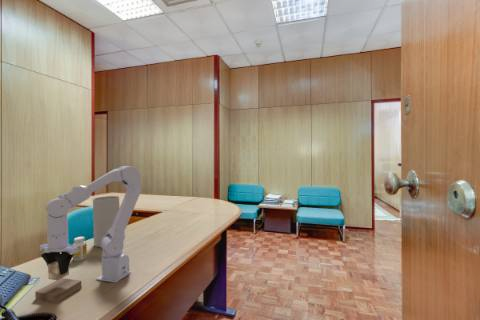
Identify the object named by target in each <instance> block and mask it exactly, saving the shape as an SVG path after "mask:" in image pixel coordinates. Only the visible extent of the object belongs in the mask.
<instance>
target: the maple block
mask: <svg viewBox="0 0 480 320" xmlns="http://www.w3.org/2000/svg"><path fill="white" fill-rule="evenodd" d="M47 271H48V273H47V274H48V275H47V276H48V277H47V278H48V280H53V281H57V280H59V279H61V278H65V277H67V276H69V275H70V267H69V268H68V272H67V273H65V274H63V275H60V272H59V265H58V262H57V261H55V262H52V263H50V264H48V266H47Z"/></svg>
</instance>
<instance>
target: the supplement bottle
mask: <svg viewBox="0 0 480 320" xmlns="http://www.w3.org/2000/svg"><path fill="white" fill-rule="evenodd" d="M73 239H74V240H73V242H74V243H72V246H75V247H77V253H75V254H74V255H73V257H72V260H73V261H75V262H77V261H82V260H84V259H87V256H88V254H87V253H88V252H87V251H88V250H87V247H88V246H87V241H85V240H86V238H85V236H77V237H75V238H73Z"/></svg>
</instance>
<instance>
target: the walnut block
mask: <svg viewBox="0 0 480 320" xmlns="http://www.w3.org/2000/svg"><path fill="white" fill-rule="evenodd" d="M82 288H83V287H82V280H78V279H71V278H65V277H63V278H61V279H59V280H54V281H53V282H51V283H49V284H47V285H45V286H43V287H41V288H40V289H38V290H36V291H35V293H34V294H35V295H34V296H35V300H36V299H37V301H42V300H43V301H42V302H47V301H48V302H49V303H52V304H53V303H54V304H57V303H58V304H59V302H61V301H63V300H64V299H66V298H68V297H69V296H70V295H72V294H74V293H76V292H77V291H80V289H82ZM48 302H47V303H48Z"/></svg>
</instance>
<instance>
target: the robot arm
mask: <svg viewBox="0 0 480 320" xmlns="http://www.w3.org/2000/svg"><path fill="white" fill-rule="evenodd" d="M141 177H142V175H141V173H140V171H139V169H138V168H137V167H135V166H133V165H121V166H119V167H118V168H114V169H112V170H111V171H110V170H109V172H107V173H105V174H104V175H102V176H100V177H98V178H97V179H95V180H93V181H92V182H90V183H88V184H87V185H82V184H80V185H78V186H77V185H74V186H73V187H71V188H72V189H70V190H69V191H67V192H65V193H63V194H58V195H57V196H58V197H56V198H53V199H51V200H50V201H48V202H47V204H46V206H45V211H46V212H47V216H46V218H47V219H46V220H47V221H46V235H47V237H46V238H47V240H46V241H47V243H43V244H40V245H39V252H43V251H44V253H41V254H40V255H41V258H42V259H43V260H44V262H45V263H46V266H47V267H48V264H50V263H52V262H55V261H57V262H58V265H59V272H60V275H63V274H65V273H67V272H68V268H69V269H70V263H71V261H72V260H73V255H74V254H75V253H77V247H75V246H73V244H70V243H69V219H68V212H69V211H70V209H74V208H75V207H77V206H79V205H81V204H82V203H84V202H85V201H86V200H88V199H90V198H91V195H92V193H94V192H96V191H97V190H99V189H101V188H103V187H105V186H106V185H109V184H110V183H114V182H121V183H122V184H123V185H124V187H125V189H126V192H125V195H124V197H123V199H122V200H121V204H120V205H119V210H118V213H117V215H116V218H115V220H114V222H113V225H112V227H111V228H110V229H109V230H108V231H107V234H106V235H105V236H104V237H103V238H102V239H101V242H100V246H101V247H100V248H101V249H102V253H101V255H100V256H101V275H99V276H97V277H96V278H95V280H96V281H102V282H110V283H118V282H120V281H121V280H122V279H124V278H125V277H127V276H128V275H130V274H131V273H132V272H131V271H130V257H129V256H128V255H127V254H125V253H123V250H124V243H125V242H124V241H125V240H126V239H125V238H126V236H125V235H126V234H125V233H126V232H125V231H126V229H127V226H128V224H129V221H130V219H131V216H132V214H133V211H134V209H135V207H136V204H137V202H138V200H139V197H140V196H141V195H140V194H141V192H142V183H141V181H142V180H141Z"/></svg>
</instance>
